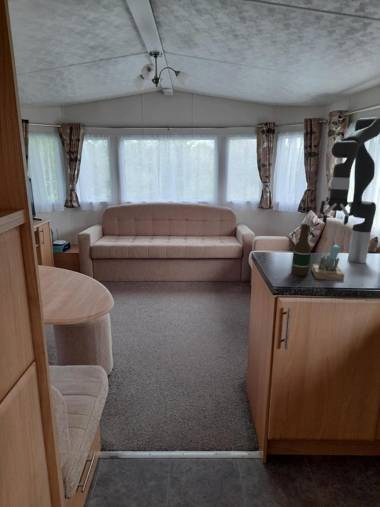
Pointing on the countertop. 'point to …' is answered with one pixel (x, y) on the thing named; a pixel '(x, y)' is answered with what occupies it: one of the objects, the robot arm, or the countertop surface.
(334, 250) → the peg
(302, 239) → the beer bottle
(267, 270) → the countertop surface
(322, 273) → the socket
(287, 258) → the countertop surface
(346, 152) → the robot arm
